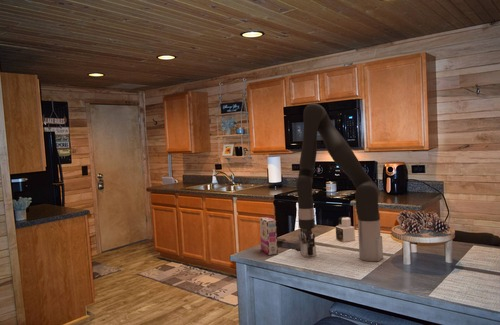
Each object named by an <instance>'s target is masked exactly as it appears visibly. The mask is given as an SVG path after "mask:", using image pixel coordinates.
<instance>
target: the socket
mask: <svg viewBox="0 0 500 325" xmlns="http://www.w3.org/2000/svg"><path fill="white" fill-rule="evenodd" d="M310 244H311V243H310ZM316 244H317V243H316V242H315V246H314V247H313V255H310V256H309V255H308V247H307V243H306V241H300V247H301V251H300V255H301V256H303V257H304V258H308V257H316V256H317V245H316Z"/></svg>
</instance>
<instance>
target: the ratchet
mask: <svg viewBox="0 0 500 325" xmlns="http://www.w3.org/2000/svg"><path fill="white" fill-rule="evenodd" d="M300 241H301V232H300V233H298V239H296V240H287V239H286V238H278V237H277V248H285V249H286V248H287V249H292V250H293V249H294V250H295V251H297V252H298V251H299V252H301V247H300Z"/></svg>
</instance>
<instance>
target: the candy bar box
mask: <svg viewBox="0 0 500 325" xmlns="http://www.w3.org/2000/svg"><path fill="white" fill-rule="evenodd" d="M277 229H278V228H277V220H275V219H273V218H271V217H269V216H264V217H259V231H260V232H259V234H260V250H261V251H262V252H264V253H265V254H266V255H268V256H274V255H278V254H279V252H278V251H279V249H278V247H277V238H278V231H277Z"/></svg>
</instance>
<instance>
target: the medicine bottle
mask: <svg viewBox="0 0 500 325" xmlns="http://www.w3.org/2000/svg"><path fill="white" fill-rule="evenodd" d="M335 239H336V240H337V241H340V242H341V243H347V242H353V241H355V240H356V233H355V226H352V222H351V217H350V216H340V217H338V225H336V226H335Z"/></svg>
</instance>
